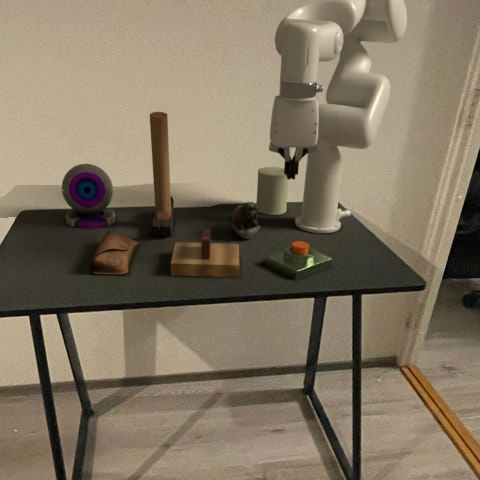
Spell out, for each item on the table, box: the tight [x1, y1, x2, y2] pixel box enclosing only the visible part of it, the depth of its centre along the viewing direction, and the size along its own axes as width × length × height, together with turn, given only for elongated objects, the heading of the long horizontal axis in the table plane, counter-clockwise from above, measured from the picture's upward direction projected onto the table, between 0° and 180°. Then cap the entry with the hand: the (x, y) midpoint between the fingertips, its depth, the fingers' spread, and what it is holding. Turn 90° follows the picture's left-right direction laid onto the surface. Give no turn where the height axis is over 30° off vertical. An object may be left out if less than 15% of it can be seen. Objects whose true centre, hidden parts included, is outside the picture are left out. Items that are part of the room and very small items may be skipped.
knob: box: [201, 228, 212, 259], centre depth 121 cm, size 7×2×5 cm, turn 1°
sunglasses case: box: [89, 229, 140, 276], centre depth 124 cm, size 18×7×7 cm
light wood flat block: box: [170, 241, 240, 278], centre depth 123 cm, size 15×12×3 cm
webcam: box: [61, 163, 116, 229], centre depth 142 cm, size 13×13×15 cm
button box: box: [264, 244, 333, 280], centre depth 124 cm, size 12×10×4 cm
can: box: [255, 166, 290, 216], centre depth 156 cm, size 9×9×12 cm
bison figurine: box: [232, 201, 261, 240], centre depth 138 cm, size 12×7×10 cm, turn 12°
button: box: [291, 240, 310, 254], centre depth 123 cm, size 4×4×2 cm
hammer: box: [149, 111, 175, 236], centre depth 134 cm, size 20×5×30 cm, turn 4°
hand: (290, 177), depth 121 cm, fingers closed
